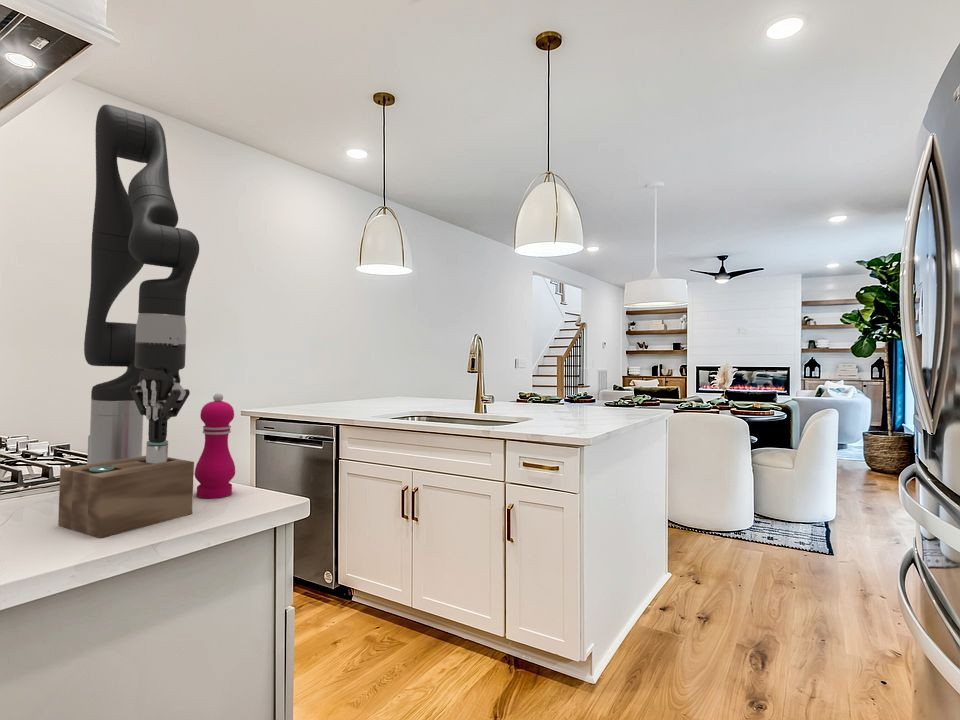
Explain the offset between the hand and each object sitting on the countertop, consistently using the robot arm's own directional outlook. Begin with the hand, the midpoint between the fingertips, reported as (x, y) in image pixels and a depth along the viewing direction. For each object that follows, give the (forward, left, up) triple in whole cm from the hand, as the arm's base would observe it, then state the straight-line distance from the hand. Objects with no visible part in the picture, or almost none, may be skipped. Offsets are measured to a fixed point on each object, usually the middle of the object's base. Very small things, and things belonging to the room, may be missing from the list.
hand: (157, 441), depth 94 cm
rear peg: (0, 0, -9) cm, 9 cm away
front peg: (0, -9, -11) cm, 14 cm away
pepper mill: (-2, +14, -13) cm, 19 cm away
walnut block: (0, -4, -12) cm, 13 cm away
